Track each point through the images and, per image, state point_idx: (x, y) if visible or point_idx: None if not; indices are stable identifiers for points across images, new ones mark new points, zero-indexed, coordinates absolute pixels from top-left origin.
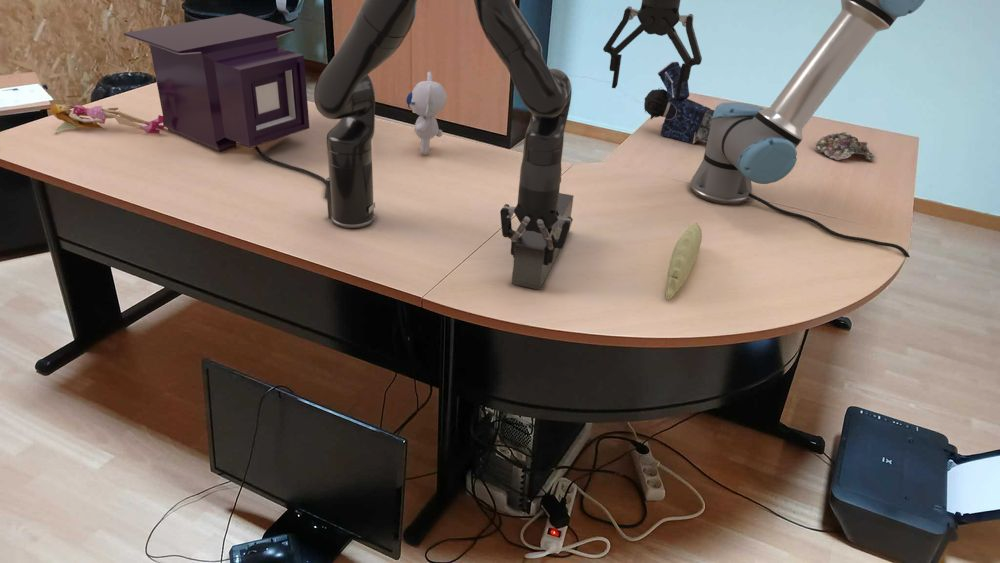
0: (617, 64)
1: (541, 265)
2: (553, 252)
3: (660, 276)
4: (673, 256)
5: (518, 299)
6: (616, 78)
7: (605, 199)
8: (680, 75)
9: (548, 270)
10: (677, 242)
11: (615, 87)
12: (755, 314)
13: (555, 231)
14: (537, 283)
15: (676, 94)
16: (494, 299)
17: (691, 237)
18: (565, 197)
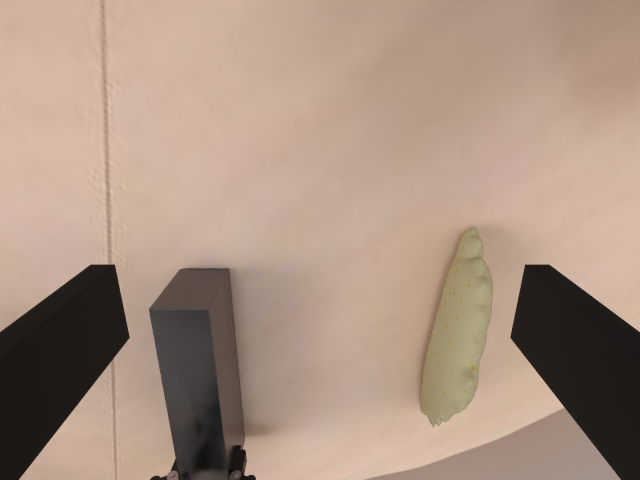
0: (10, 475)
1: None
2: (243, 472)
3: (408, 346)
4: (434, 404)
5: None
6: (94, 381)
7: (258, 73)
8: (612, 461)
9: (240, 403)
10: (443, 393)
11: (126, 332)
12: (547, 390)
13: (226, 436)
14: None
15: (522, 348)
16: None
17: (471, 392)
18: (195, 325)
